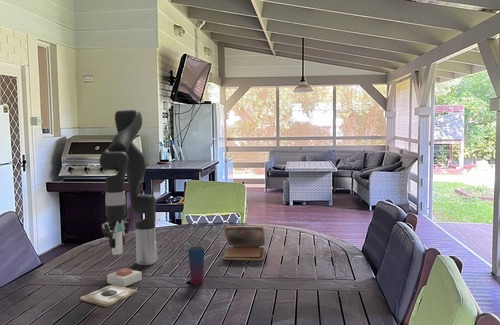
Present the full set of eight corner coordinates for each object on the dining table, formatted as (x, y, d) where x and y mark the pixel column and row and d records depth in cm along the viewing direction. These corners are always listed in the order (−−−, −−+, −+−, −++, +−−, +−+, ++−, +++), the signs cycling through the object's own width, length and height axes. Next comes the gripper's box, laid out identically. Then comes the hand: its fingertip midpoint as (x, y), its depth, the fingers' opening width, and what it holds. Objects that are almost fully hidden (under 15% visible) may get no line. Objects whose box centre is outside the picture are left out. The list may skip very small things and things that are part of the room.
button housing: (124, 275, 203) (124, 268, 202) (141, 279, 198) (141, 271, 197) (107, 283, 194) (107, 274, 194) (124, 287, 189) (124, 278, 189)
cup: (190, 286, 190) (189, 250, 188) (187, 280, 196) (187, 246, 195) (206, 284, 191) (205, 249, 190) (203, 278, 198) (202, 245, 196)
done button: (124, 274, 199) (124, 267, 198) (131, 275, 196) (131, 269, 196) (116, 277, 195) (116, 270, 195) (124, 278, 193) (124, 272, 192)
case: (266, 249, 242) (265, 219, 241) (263, 261, 222) (262, 229, 220) (227, 249, 244) (227, 219, 243) (221, 261, 224) (220, 229, 222)
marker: (117, 251, 182) (116, 221, 181) (125, 252, 180) (124, 222, 179) (109, 253, 178) (108, 223, 177) (117, 255, 176) (116, 224, 175)
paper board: (112, 286, 190) (112, 283, 190) (137, 292, 183) (136, 289, 183) (80, 299, 176) (80, 296, 176) (105, 307, 169) (105, 303, 169)
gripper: (121, 199, 185) (123, 241, 187) (94, 205, 173) (96, 249, 174) (135, 201, 182) (137, 243, 183) (108, 206, 169) (110, 252, 171)
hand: (117, 246), depth 179 cm, fingers closed on marker, 4 cm apart
